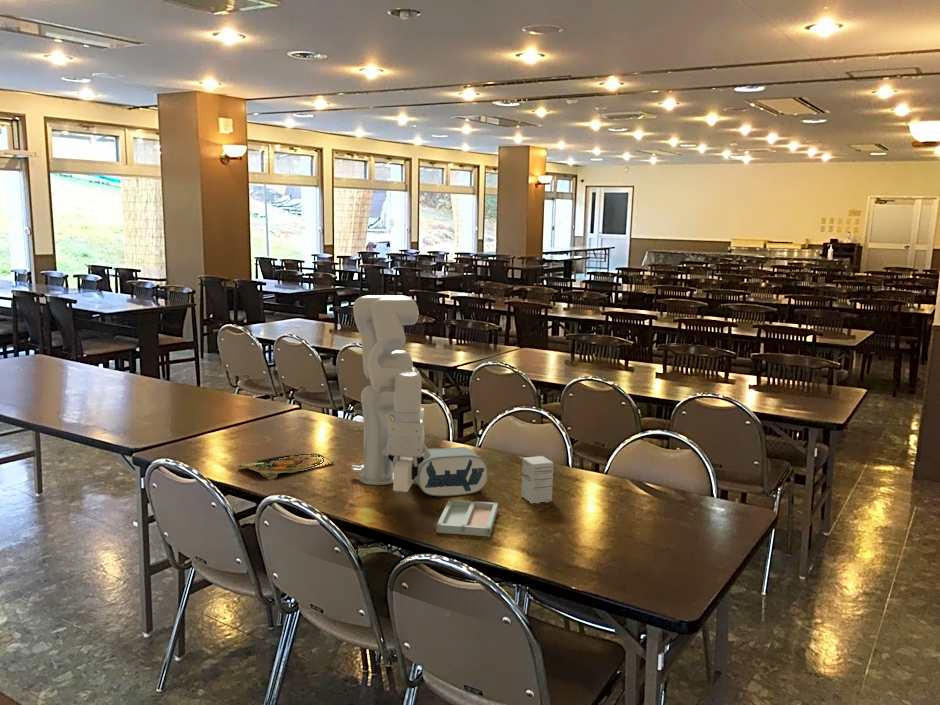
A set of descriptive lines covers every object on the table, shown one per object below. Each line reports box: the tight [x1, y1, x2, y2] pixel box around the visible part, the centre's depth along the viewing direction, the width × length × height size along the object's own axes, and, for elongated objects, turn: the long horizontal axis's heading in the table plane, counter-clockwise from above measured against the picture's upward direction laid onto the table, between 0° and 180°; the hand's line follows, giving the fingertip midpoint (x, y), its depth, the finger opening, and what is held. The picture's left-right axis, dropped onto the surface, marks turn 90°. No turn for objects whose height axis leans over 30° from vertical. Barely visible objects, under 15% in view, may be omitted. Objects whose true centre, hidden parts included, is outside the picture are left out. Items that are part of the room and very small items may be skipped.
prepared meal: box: [238, 452, 335, 479], centre depth 271 cm, size 28×4×18 cm
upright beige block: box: [392, 456, 417, 493], centre depth 227 cm, size 4×14×7 cm, turn 172°
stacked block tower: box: [520, 455, 554, 505], centre depth 244 cm, size 7×7×13 cm
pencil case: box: [414, 446, 489, 497], centre depth 253 cm, size 22×19×13 cm
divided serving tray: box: [436, 498, 499, 537], centre depth 225 cm, size 15×20×2 cm
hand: (405, 477), depth 227 cm, fingers closed on upright beige block, 4 cm apart
